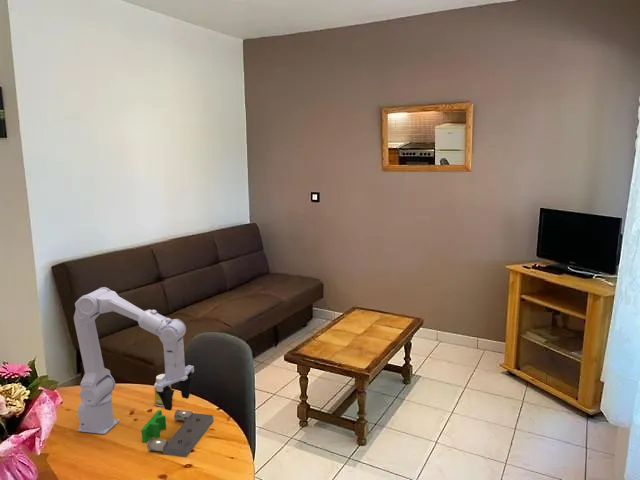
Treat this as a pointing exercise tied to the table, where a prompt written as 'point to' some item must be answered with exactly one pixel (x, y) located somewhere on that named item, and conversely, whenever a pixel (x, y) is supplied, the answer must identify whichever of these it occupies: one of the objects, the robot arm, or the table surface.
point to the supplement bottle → (157, 397)
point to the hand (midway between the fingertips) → (177, 403)
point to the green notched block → (154, 426)
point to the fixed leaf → (183, 434)
